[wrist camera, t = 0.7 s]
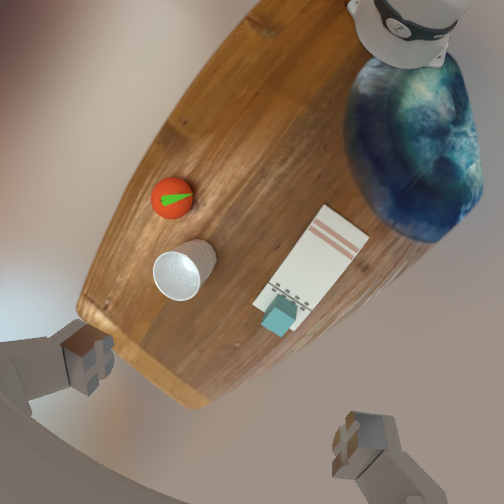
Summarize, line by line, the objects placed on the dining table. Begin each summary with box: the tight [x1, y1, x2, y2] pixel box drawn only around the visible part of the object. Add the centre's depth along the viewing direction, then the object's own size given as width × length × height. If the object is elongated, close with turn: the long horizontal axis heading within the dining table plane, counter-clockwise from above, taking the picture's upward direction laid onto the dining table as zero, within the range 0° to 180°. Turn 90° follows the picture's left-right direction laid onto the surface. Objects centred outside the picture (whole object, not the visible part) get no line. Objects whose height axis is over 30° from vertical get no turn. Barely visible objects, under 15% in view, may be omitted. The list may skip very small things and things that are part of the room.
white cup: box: [153, 239, 217, 301], centre depth 48 cm, size 8×8×10 cm
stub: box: [253, 281, 311, 337], centre depth 49 cm, size 5×9×6 cm, turn 58°
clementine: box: [151, 177, 194, 219], centre depth 47 cm, size 8×7×7 cm
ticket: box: [269, 204, 369, 310], centre depth 48 cm, size 16×9×1 cm, turn 148°
